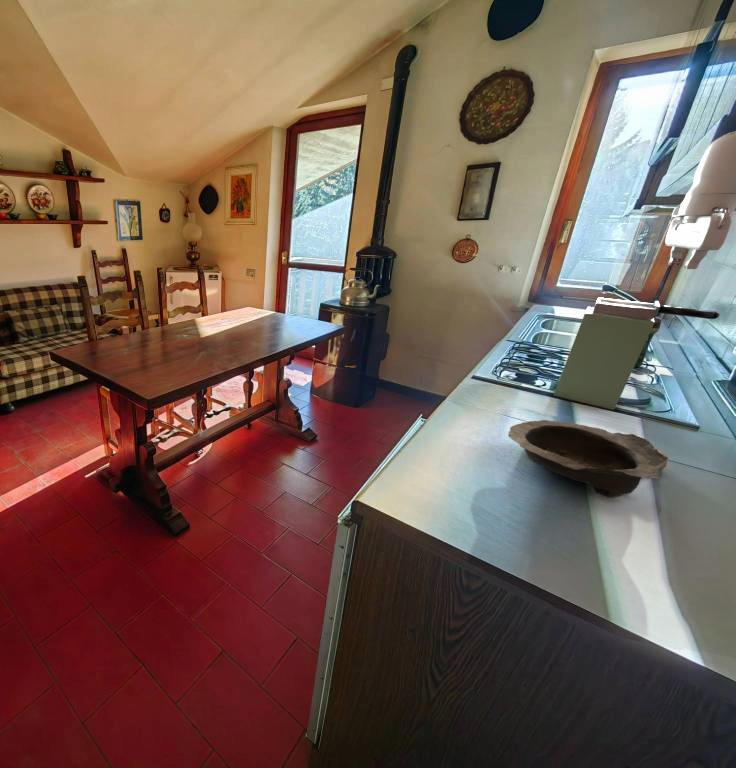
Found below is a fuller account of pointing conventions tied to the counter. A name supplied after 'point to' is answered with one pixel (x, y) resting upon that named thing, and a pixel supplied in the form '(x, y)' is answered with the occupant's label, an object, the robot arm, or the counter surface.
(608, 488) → the stone bowl
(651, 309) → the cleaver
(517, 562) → the counter surface
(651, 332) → the coffee jar
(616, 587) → the counter surface
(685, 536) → the counter surface
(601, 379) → the sage green block
